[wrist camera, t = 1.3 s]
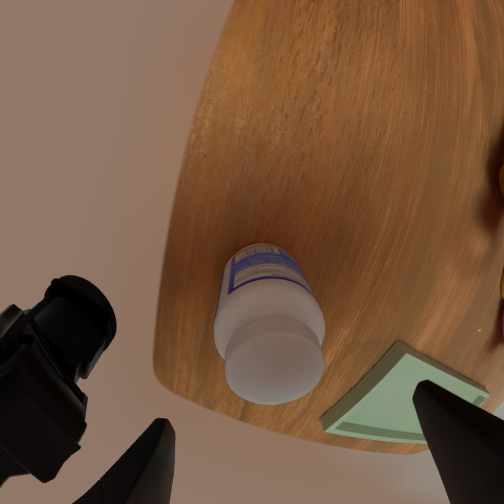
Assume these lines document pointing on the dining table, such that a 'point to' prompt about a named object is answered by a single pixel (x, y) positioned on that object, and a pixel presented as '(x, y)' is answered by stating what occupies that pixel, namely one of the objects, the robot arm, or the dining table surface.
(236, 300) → the pill bottle
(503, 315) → the teapot
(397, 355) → the tray
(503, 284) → the plumb bob
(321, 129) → the dining table surface
